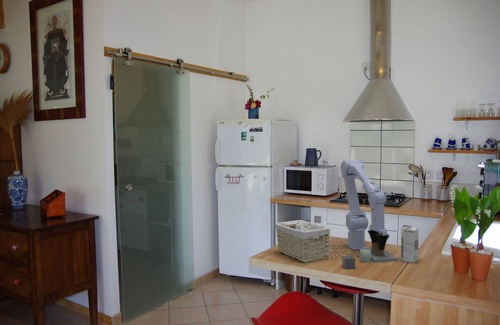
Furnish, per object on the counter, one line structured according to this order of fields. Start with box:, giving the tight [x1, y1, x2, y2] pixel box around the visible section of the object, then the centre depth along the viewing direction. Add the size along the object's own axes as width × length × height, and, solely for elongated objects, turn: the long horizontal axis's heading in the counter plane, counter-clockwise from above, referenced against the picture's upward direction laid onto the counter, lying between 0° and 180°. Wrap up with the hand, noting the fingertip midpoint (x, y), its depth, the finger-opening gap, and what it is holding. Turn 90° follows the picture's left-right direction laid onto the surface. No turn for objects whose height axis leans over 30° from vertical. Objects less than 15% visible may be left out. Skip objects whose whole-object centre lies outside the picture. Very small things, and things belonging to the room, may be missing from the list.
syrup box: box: [400, 226, 420, 264], centre depth 173 cm, size 6×6×14 cm
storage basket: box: [275, 219, 331, 263], centre depth 187 cm, size 24×16×15 cm
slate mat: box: [358, 248, 399, 263], centre depth 182 cm, size 18×11×1 cm, turn 6°
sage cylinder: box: [359, 248, 372, 264], centre depth 174 cm, size 4×4×5 cm
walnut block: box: [371, 242, 385, 256], centre depth 181 cm, size 4×4×5 cm
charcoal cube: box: [341, 255, 356, 270], centre depth 167 cm, size 4×4×4 cm
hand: (378, 247), depth 181 cm, fingers open, 7 cm apart
